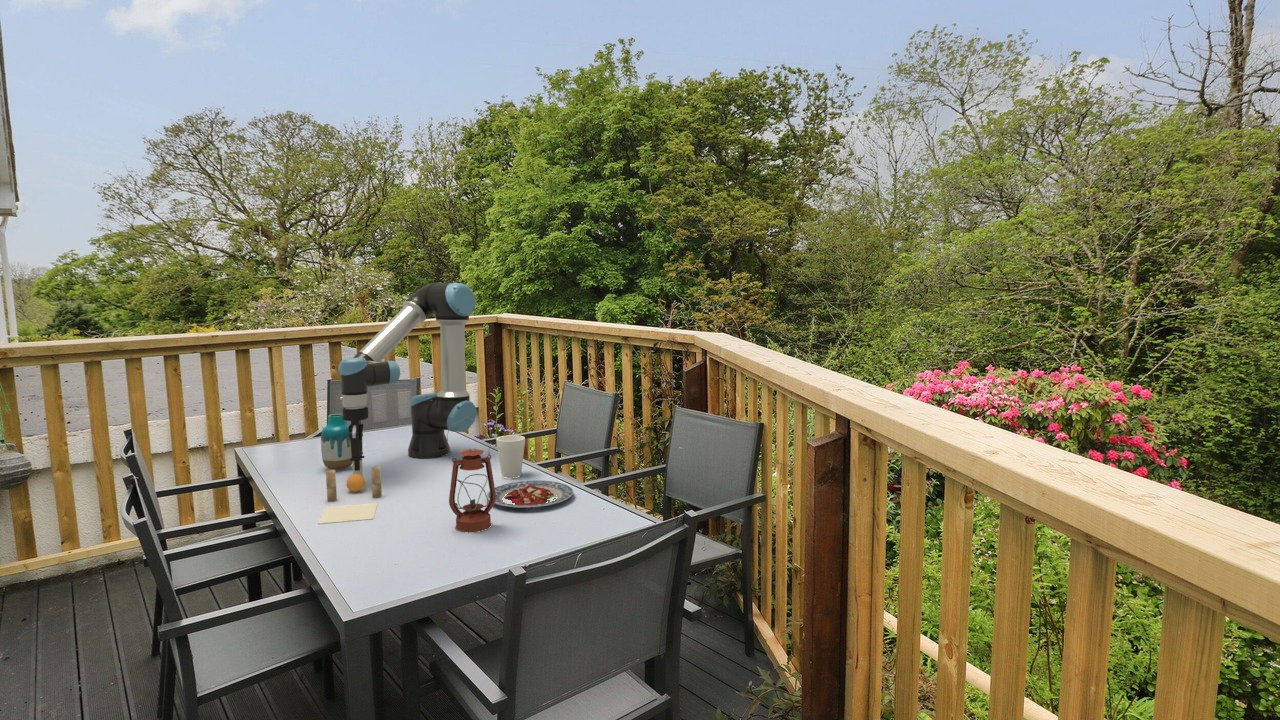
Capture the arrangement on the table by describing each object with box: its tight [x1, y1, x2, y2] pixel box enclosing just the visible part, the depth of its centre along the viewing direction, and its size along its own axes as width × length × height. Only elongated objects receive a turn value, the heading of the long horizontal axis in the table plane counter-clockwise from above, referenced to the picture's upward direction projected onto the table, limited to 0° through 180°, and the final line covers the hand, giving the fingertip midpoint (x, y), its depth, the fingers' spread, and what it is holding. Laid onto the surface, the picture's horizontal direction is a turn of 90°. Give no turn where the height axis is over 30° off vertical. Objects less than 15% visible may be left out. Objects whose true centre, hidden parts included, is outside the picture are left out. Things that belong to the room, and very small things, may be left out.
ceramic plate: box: [486, 479, 574, 509], centre depth 206 cm, size 26×26×3 cm
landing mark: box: [317, 502, 378, 525], centre depth 192 cm, size 14×14×1 cm
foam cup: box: [495, 434, 526, 479], centre depth 229 cm, size 10×9×13 cm
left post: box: [325, 469, 338, 502], centre depth 203 cm, size 3×3×9 cm
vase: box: [320, 413, 353, 471], centre depth 237 cm, size 11×11×19 cm
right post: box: [370, 466, 382, 499], centre depth 207 cm, size 3×3×9 cm
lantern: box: [446, 417, 496, 534], centre depth 181 cm, size 10×10×30 cm
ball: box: [345, 473, 366, 493], centre depth 212 cm, size 6×6×6 cm
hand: (358, 479), depth 218 cm, fingers closed
